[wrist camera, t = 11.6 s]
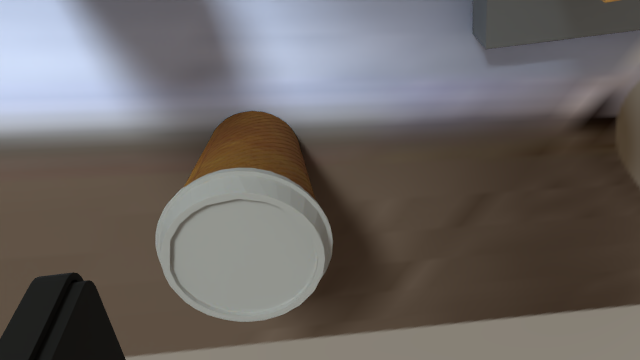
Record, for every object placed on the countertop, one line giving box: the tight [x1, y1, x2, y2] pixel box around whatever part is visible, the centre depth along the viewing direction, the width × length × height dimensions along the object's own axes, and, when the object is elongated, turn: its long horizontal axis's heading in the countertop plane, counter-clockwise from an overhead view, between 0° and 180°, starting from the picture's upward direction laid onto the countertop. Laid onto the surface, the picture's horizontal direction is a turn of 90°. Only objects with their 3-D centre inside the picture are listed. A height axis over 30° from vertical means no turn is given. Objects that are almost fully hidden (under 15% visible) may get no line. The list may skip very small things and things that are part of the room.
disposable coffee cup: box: [156, 111, 333, 322], centre depth 37 cm, size 10×10×12 cm
